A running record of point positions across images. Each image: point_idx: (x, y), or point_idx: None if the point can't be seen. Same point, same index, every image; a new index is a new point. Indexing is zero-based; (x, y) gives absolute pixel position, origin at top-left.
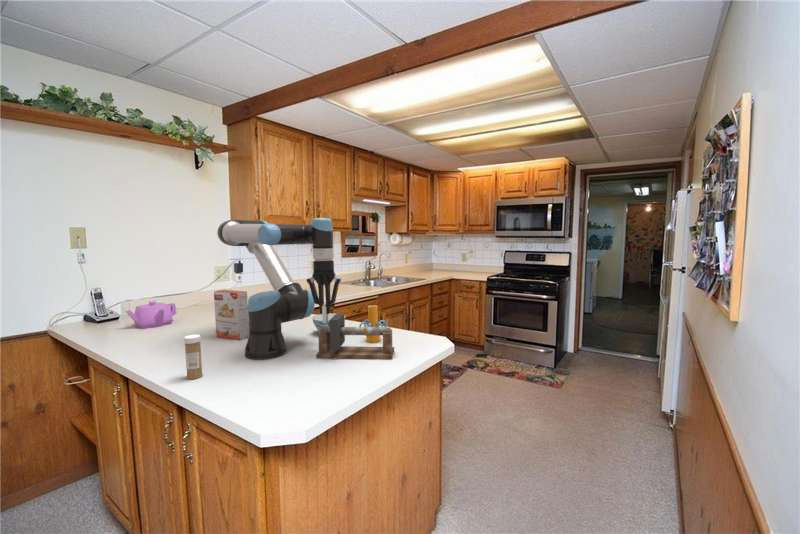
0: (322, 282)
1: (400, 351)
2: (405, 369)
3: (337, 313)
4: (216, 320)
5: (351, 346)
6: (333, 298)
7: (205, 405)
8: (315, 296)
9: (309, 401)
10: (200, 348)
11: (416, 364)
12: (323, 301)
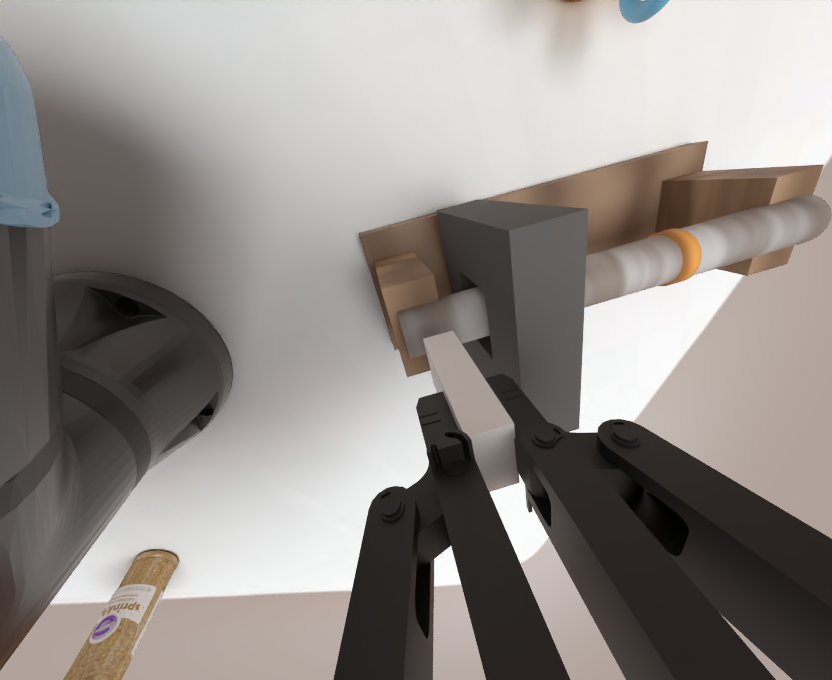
0: None
1: (714, 145)
2: (697, 329)
3: (517, 230)
4: None
5: (504, 198)
6: (680, 538)
7: (339, 590)
8: (428, 669)
9: (508, 520)
10: (113, 659)
11: (738, 280)
12: (483, 489)
